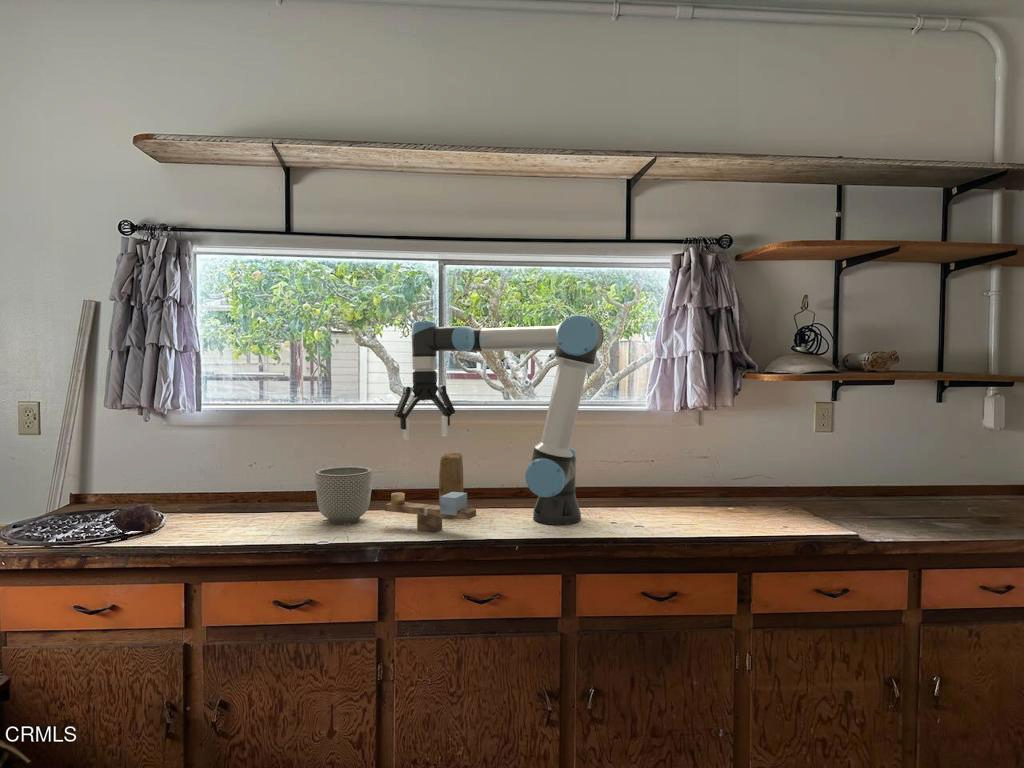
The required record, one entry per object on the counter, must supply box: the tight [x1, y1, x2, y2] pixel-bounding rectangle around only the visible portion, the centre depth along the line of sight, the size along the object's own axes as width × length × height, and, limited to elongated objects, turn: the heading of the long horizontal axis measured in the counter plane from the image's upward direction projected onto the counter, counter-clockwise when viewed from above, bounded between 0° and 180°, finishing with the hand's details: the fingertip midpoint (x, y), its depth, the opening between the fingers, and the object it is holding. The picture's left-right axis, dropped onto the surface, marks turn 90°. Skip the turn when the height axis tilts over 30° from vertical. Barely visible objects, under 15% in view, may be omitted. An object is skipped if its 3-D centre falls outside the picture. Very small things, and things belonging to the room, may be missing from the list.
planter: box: [314, 466, 373, 526], centre depth 197 cm, size 17×17×16 cm
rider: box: [440, 492, 468, 515], centre depth 184 cm, size 5×8×5 cm, turn 158°
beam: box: [384, 491, 477, 534], centre depth 187 cm, size 28×5×10 cm, turn 68°
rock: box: [111, 503, 163, 533], centre depth 183 cm, size 12×9×10 cm
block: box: [438, 452, 465, 506], centre depth 207 cm, size 11×8×20 cm
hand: (426, 438), depth 198 cm, fingers open, 13 cm apart
